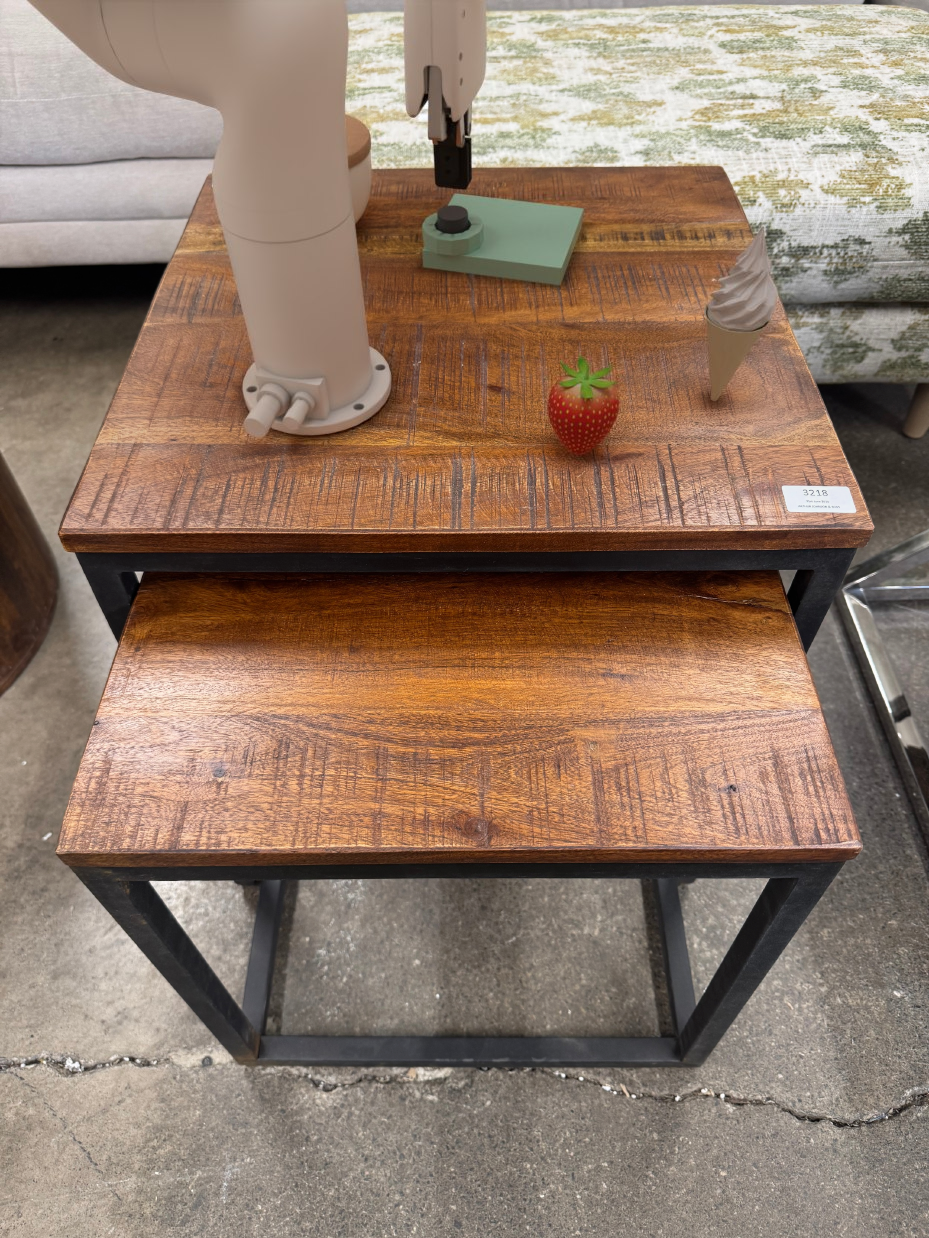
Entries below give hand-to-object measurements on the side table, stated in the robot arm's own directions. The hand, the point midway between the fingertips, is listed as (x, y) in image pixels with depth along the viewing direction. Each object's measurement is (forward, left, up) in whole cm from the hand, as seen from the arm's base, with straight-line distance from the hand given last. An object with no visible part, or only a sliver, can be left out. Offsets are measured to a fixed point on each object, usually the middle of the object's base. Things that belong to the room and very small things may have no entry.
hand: (453, 184), depth 80 cm
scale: (+3, -4, -7) cm, 9 cm away
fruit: (-26, -17, -8) cm, 32 cm away
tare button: (0, 0, -4) cm, 4 cm away
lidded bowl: (+2, +16, -7) cm, 17 cm away
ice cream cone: (-17, -27, -8) cm, 33 cm away
